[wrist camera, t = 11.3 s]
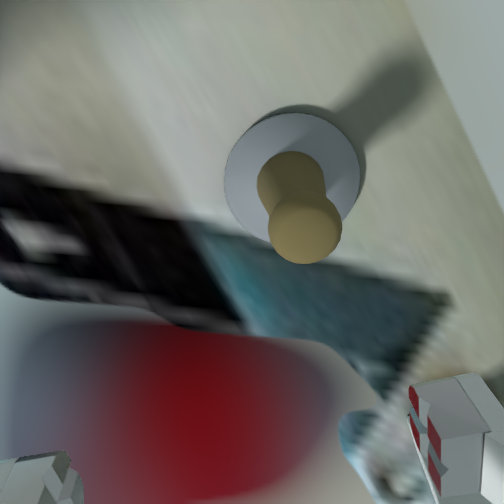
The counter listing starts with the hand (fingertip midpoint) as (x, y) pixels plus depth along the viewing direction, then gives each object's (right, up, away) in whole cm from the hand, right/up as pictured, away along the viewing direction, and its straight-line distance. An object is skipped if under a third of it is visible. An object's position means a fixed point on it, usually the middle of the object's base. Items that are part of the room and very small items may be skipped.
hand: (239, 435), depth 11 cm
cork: (+4, +10, +30) cm, 32 cm away
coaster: (+4, +11, +31) cm, 33 cm away
